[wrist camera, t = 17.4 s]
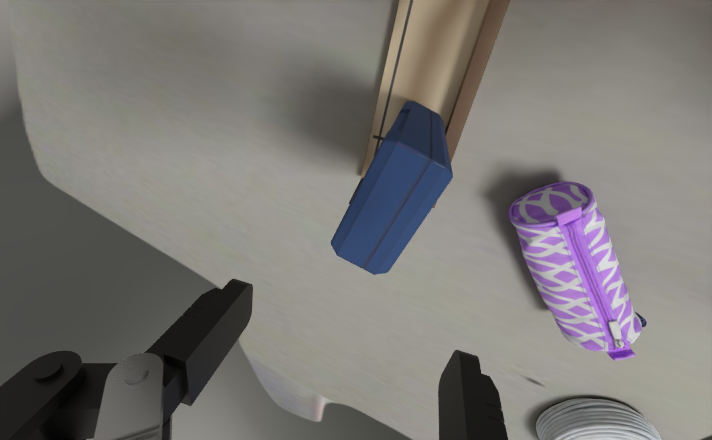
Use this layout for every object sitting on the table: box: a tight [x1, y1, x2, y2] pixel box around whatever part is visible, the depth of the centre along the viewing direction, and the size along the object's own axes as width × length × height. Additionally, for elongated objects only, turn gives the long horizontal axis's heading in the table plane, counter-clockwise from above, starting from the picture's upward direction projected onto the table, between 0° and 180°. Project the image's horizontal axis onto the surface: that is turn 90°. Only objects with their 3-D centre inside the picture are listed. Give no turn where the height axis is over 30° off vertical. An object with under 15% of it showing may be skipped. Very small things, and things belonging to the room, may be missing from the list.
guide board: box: [360, 0, 510, 208], centre depth 32 cm, size 10×32×4 cm, turn 169°
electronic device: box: [331, 101, 453, 275], centre depth 29 cm, size 10×5×20 cm, turn 155°
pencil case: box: [509, 182, 647, 360], centre depth 37 cm, size 22×9×10 cm, turn 34°
